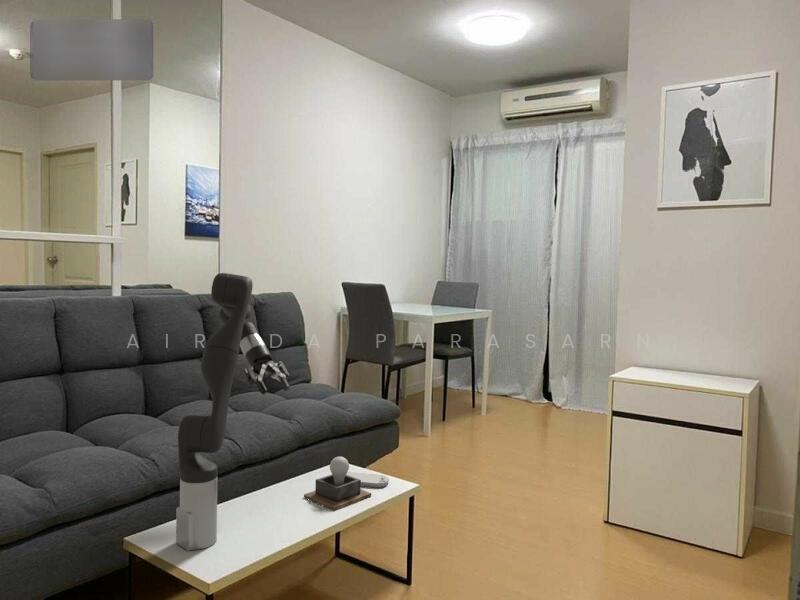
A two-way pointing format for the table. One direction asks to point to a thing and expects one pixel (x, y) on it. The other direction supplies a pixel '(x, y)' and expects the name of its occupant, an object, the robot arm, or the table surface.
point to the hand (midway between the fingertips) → (276, 391)
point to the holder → (337, 492)
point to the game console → (370, 479)
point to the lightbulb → (339, 469)
